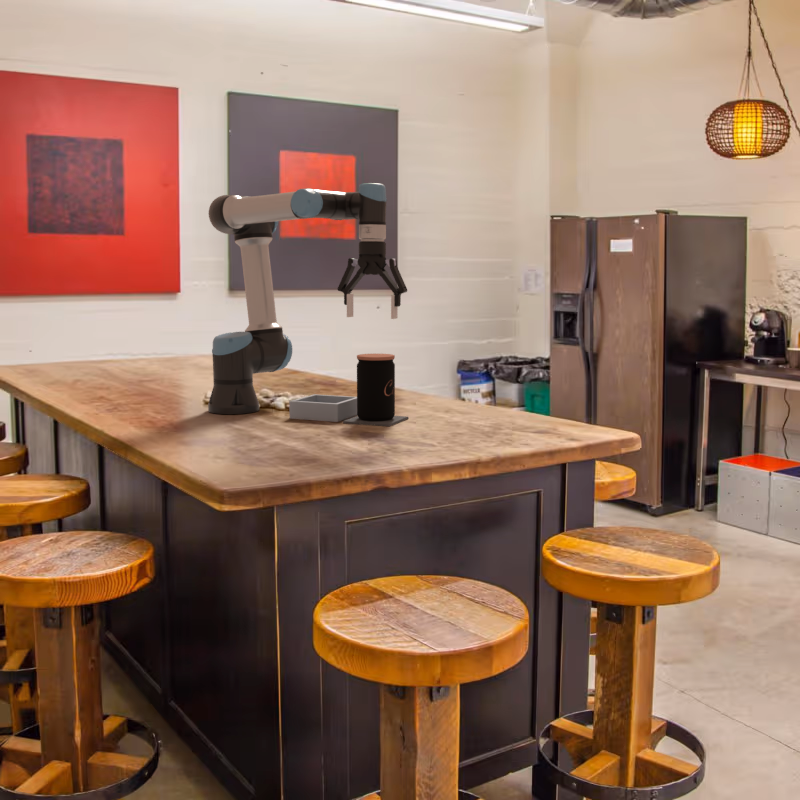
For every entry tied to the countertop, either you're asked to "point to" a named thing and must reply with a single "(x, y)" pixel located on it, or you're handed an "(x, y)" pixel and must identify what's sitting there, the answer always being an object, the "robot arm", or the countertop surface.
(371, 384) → the coffee jar
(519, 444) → the countertop surface
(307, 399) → the pocket frame
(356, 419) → the pad
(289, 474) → the countertop surface
